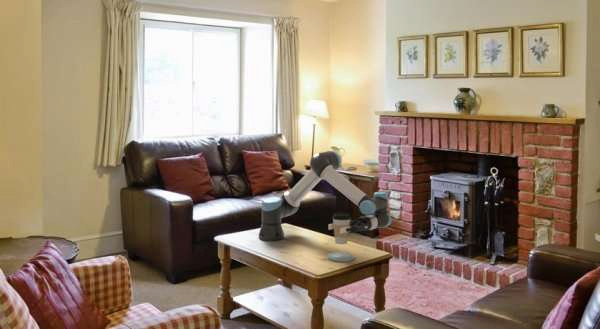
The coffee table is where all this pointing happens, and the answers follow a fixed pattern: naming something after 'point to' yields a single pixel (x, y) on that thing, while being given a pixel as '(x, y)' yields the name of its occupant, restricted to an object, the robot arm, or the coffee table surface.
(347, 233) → the coffee cup
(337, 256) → the saucer
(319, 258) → the coffee table surface
